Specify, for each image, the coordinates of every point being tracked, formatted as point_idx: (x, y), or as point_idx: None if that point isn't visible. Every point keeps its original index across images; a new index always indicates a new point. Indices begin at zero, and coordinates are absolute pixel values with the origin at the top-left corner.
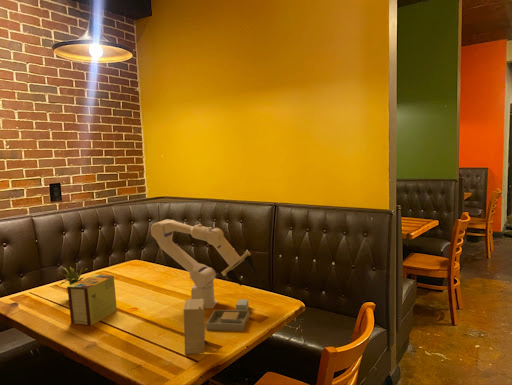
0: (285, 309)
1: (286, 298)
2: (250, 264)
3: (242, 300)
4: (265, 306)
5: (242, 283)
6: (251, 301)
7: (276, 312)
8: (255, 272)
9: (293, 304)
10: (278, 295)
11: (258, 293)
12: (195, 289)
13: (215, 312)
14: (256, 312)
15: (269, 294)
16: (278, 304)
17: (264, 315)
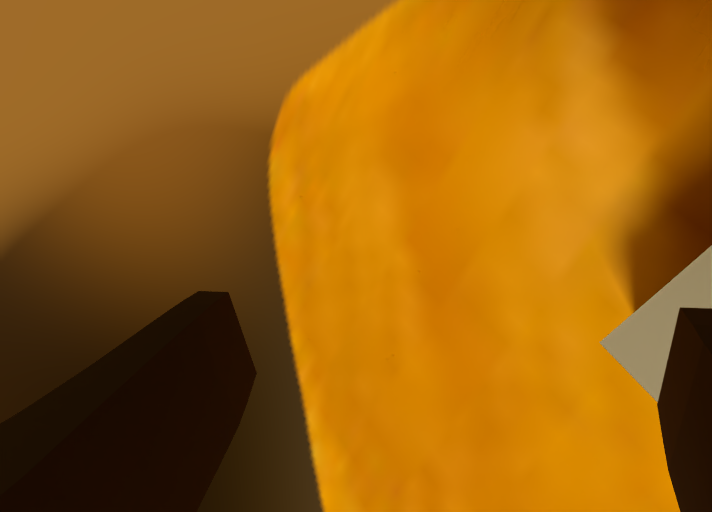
0: (388, 68)
1: (286, 248)
2: (12, 468)
3: None
4: (472, 234)
5: (692, 318)
6: (504, 433)
7: (475, 50)
8: (209, 299)
9: (306, 121)
10: (294, 335)
11: (367, 501)
12: None
13: None
14: (633, 166)
15: (324, 406)
16: (374, 194)
17: (610, 42)
